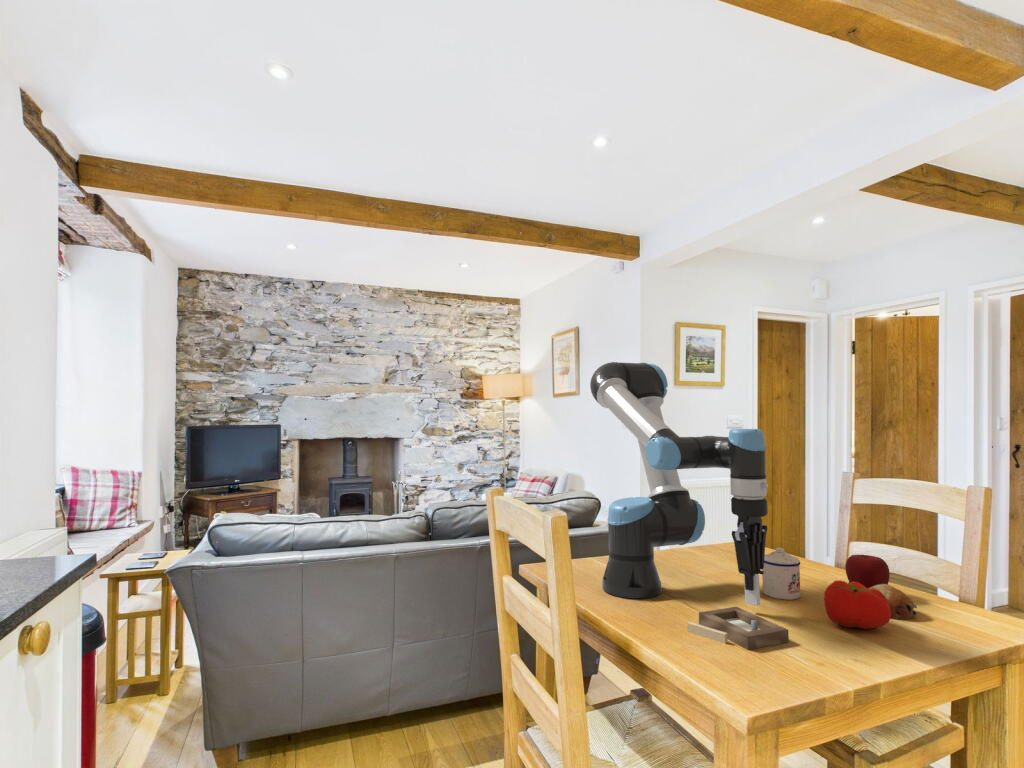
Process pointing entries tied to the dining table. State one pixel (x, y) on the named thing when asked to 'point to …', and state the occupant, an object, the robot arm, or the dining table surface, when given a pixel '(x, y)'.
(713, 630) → the wall panel
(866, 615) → the tomato
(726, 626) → the walnut frame
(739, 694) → the dining table surface
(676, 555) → the dining table surface
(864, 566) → the apple
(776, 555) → the teacup with lid
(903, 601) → the bread roll
